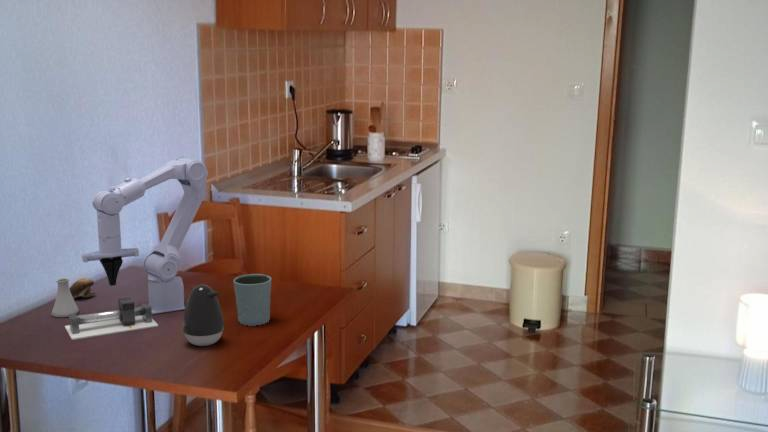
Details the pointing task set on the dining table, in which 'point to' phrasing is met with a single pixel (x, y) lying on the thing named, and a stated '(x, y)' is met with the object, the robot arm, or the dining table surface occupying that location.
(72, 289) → the mushroom
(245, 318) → the grey-green cup
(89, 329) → the base board
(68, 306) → the flask
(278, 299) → the dining table surface
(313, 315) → the dining table surface
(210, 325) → the dark grey penguin toy
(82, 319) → the linear slide rail
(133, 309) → the dark grey sliding block
